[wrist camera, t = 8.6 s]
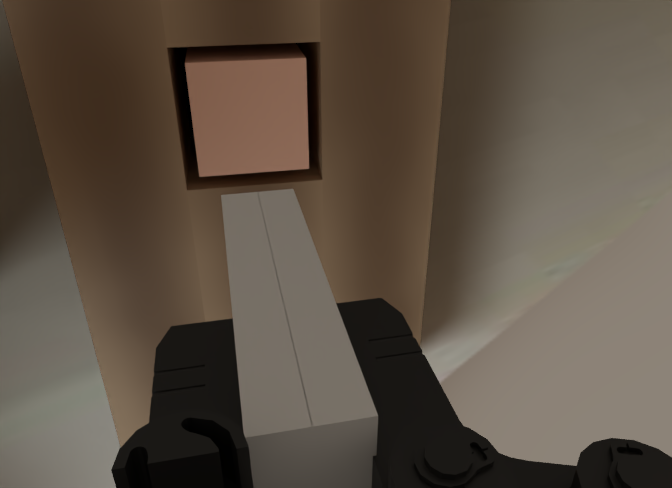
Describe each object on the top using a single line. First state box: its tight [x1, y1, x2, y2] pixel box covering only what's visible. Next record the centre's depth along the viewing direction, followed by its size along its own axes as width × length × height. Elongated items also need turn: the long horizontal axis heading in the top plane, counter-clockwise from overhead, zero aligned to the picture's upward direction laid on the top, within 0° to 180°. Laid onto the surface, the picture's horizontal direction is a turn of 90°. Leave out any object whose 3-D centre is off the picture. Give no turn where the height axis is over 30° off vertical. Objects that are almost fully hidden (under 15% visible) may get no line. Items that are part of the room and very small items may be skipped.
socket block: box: [2, 0, 451, 447], centre depth 26 cm, size 14×24×6 cm, turn 0°
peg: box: [185, 43, 309, 177], centre depth 23 cm, size 4×4×6 cm
